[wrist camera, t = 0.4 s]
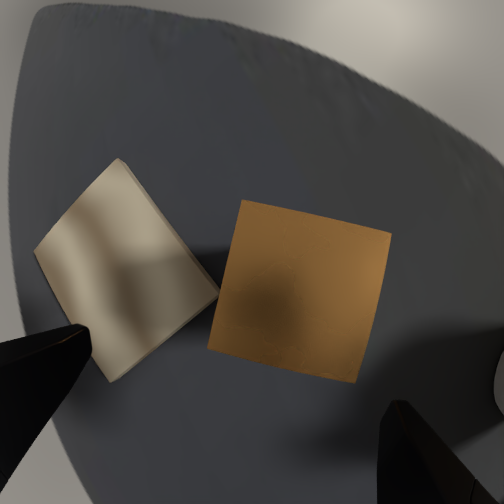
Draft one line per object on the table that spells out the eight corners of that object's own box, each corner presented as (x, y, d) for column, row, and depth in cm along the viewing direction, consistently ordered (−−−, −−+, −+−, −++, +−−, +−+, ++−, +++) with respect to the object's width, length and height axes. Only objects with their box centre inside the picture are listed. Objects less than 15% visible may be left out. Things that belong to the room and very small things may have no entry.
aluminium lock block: (322, 327, 22) (355, 383, 9) (255, 311, 23) (207, 348, 10) (339, 259, 22) (391, 233, 10) (271, 243, 23) (242, 199, 10)
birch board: (119, 378, 24) (110, 382, 22) (43, 252, 26) (33, 251, 25) (223, 293, 23) (218, 293, 22) (125, 163, 25) (117, 157, 24)
